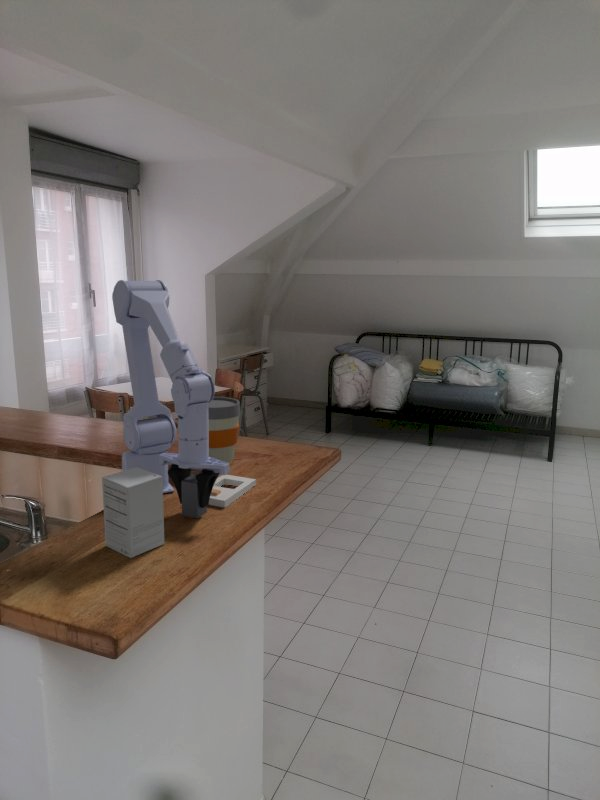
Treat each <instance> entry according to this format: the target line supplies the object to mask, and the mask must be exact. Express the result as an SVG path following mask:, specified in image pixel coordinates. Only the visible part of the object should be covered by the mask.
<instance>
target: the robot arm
mask: <svg viewBox="0 0 600 800" xmlns="http://www.w3.org/2000/svg"><path fill="white" fill-rule="evenodd" d="M111 295H112V296H111V297H112V298H111V299H112V305H113V312H114V313H113V314H114V318H115V323H117V324H119V325H120V326H122V333H123V339H124V346H125V354H126V360H127V364H128V365H127V366H128V372H129V377H130V385H131V390H132V391H131V392H132V397H133V405H132V406H131V408H130V409H128V411H127V412H126V413H125V414H124V415H123V416H122V418H123V431H122V434H123V435H122V436H123V441H124V444H125V446H126V447H127V448H128V449H129V451H124V452H122V454H121V472H122V471H126V470H129V469H132V468H136V467H137V468H140V469H143V470H146V471H149V472H152V473H155V474H157V475H160V476H162V481H163V494H166V493H172V492H175V489H176V492H177V496H178V500H179V503H180V505H182V492H181V481H182V480H184V479H186V478H188V477H189V476H191V472H192V470H196V471H201V472H199V473H197V475H196V480H197V483H198V488H199V504H200V508H204V507H206V506H207V507H208V506H209V505H208V504H209V499H210V495H211V491H212V488H213V486H214V484H215V481H216V479H217V478H218V477H220V476H222V475H226V474H227V475H229V473H230V465H231V464H230V463H227V462H223V461H220V460H217V459H214V458H211V457H209V417H208V403H209V402H211V401H212V400H213V398H214V397H215V393H216V390H215V384H214V380H213V377H212V376H211V374H209V373H208V372H206V371H205V370H204V369H203V368H200V366H199V365H198V362H197V360H196V359H195V356H194V354H193V352H192V350H191V347H190V346H189V344H188V343H187V342H185V341H183V340H180V338H179V335H178V333H177V331H176V327H175V325H174V322H173V319H172V317H171V314H170V311H169V306H170V293H169V290H168V287H167V285H166V283H165V282H164V281H163V280H160V279H157V280H124V279H120V280H118V281H117V282H116V283H115V285H114V287H113V292H112V294H111ZM149 327H150V328H151V330H152V332H153V334H154V335H155V337H156V339H157V341H158V342H159V344H160V345H161V347H162V349H161V351H160V353H159V356H160V359H161V360H162V364H163V365H164V367H165V369H166V372H167V374H168V376H169V378H170V380H171V382H172V384H171V388H170V393H171V395H170V396H171V397H172V401H173V405H174V411H175V414H176V415H177V425H176V423H175V421H174V419H173V416H172V411H171V409H170V408H168V407H167V406H165V405H164V404H162V403H161V402H160V401H159V400H160V399H159V393H158V388H157V387H158V386H157V381H156V376H155V370H154V369H155V368H154V363H153V361H154V360H153V355H152V349H151V342H150V336H149ZM152 416H155V417H152ZM145 417H146V418H145ZM147 417H151V418H147ZM141 418H144V419H141ZM176 426H177V427H176ZM177 435H178V438H177V439H178V440H177V441H178V442H177V443H178V445H177V446H178V449H177V450H178V453H172V452H169V449H171V448H172V444H173V443H175V440H176V437H177ZM169 466H170V468H169ZM169 478H170V479H171V481H172V483H173V486H174V487H175V489H174V487H173V486H172V484H171V483H170V482H169Z"/></svg>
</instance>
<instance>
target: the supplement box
mask: <svg viewBox="0 0 600 800" xmlns="http://www.w3.org/2000/svg"><path fill="white" fill-rule="evenodd" d="M101 484H102V485H101V487H102V502H103V521H104V522H103V524H104V541H105V544H104V545H105V546H106V547H107V548H110V549H111V550H113V551H115V552H117V553H120V554H121V555H122V556H125V557H128V558H129V559H132V558H135V557H136V556H139V555H142V554H144V553H146V552H148V551H151V550H153V549H155V548H158V547H161V546H163V545H164V544H165V520H164V519H165V517H164V516H165V515H164V493H163V481H162V476H160V475H157V474H155V473H152V472H149V471H146V470H143V469H140V468H137V467H136V468H132V469H129V470H126V471H122V470H121V471H119V472H116V473H113V474H109V475H105V476H102V477H101Z"/></svg>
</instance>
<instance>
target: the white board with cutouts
mask: <svg viewBox="0 0 600 800" xmlns="http://www.w3.org/2000/svg"><path fill="white" fill-rule="evenodd" d="M224 484H228V485H234V486H238V487H235V488H231V487H230V488H228V487H224V486H225V485H224ZM222 485H223V486H222ZM228 485H227V486H228ZM255 485H256V486H257V479H256V478H250V477H243V476H239V475H237V476H236V475H232V474H226V475H219V476H218V478H217V479H216V481H215V484H214V486H213V488H212V491H211V495H210V499H209V504H208V505H207V506H214V507H218V508H223V509H225V508H227V507H228V506H229V505H230V506H231V504H232V503H234V502H235V501H237V500H238V499H240V498H241V497H243V496H244V495H245V494H247V493H248V492H249V491H251V490H252V489H253V488H252V487H253V486H255ZM221 486H222V487H221ZM234 486H233V487H234ZM256 486H255V487H256ZM251 488H252V489H251ZM250 489H251V490H250ZM248 490H249V491H248ZM247 491H248V492H247ZM246 492H247V493H246ZM244 493H245V494H244ZM243 494H244V495H243ZM239 497H240V498H239ZM236 499H237V500H236Z"/></svg>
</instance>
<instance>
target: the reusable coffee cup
mask: <svg viewBox="0 0 600 800" xmlns="http://www.w3.org/2000/svg"><path fill="white" fill-rule="evenodd" d="M240 404H241V403H240V401H239V400H238V399H236V398H232V397H225V396H214V398H213V400H212V401H211V402H209V403H208V417H209V457H211V458H214V459H217V460H220V461H223V462H227V463H229V462H231V461H232V460H233V461H234V455H235V449H236V444H237V443H238V440H239V431H240V422H239V419H240V418H239V417H240V415H241V405H240Z"/></svg>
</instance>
